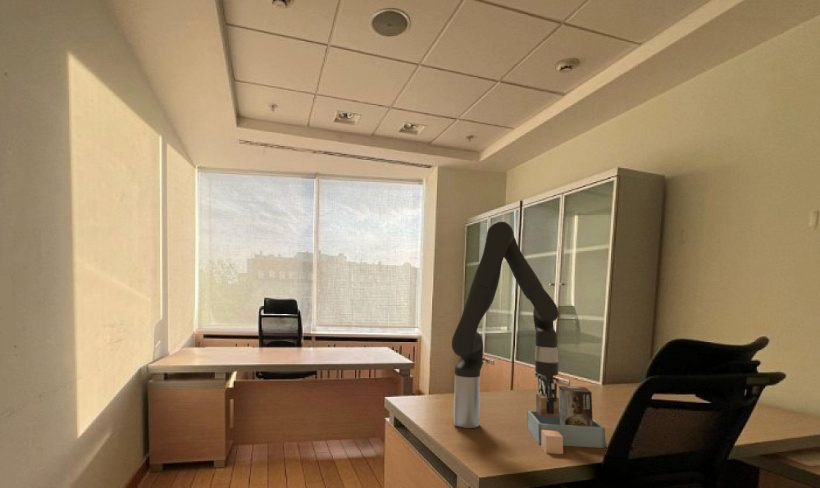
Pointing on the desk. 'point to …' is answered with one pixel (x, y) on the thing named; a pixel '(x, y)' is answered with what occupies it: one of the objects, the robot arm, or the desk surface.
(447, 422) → the desk surface
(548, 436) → the cube
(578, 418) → the coffee box
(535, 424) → the tote
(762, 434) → the desk surface
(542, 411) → the block
